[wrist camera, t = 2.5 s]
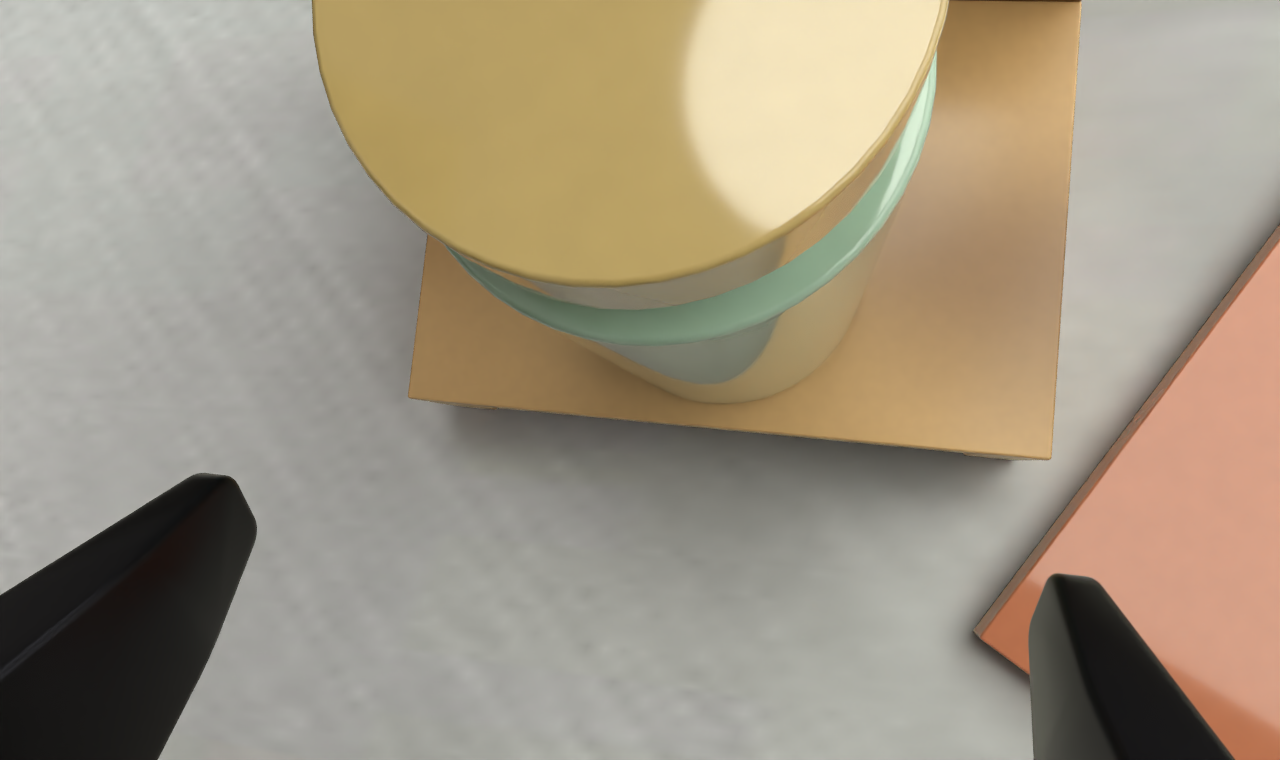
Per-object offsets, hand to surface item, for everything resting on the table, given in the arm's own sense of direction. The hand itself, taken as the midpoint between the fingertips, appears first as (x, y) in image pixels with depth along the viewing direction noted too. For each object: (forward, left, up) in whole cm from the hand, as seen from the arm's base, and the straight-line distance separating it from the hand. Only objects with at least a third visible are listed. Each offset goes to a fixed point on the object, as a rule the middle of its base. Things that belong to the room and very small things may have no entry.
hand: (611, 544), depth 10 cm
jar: (+3, +5, -10) cm, 11 cm away
